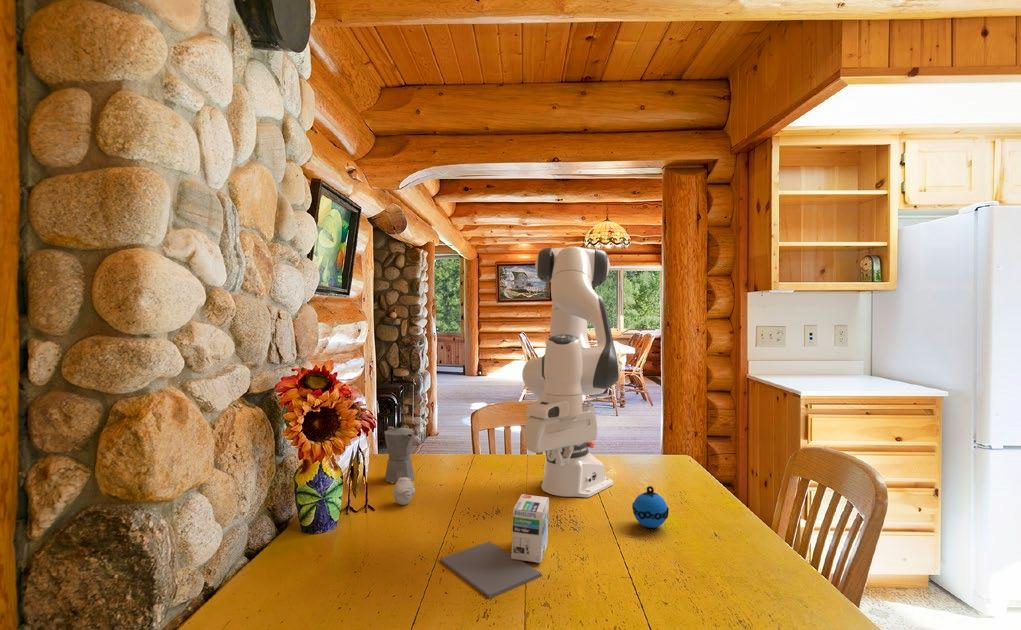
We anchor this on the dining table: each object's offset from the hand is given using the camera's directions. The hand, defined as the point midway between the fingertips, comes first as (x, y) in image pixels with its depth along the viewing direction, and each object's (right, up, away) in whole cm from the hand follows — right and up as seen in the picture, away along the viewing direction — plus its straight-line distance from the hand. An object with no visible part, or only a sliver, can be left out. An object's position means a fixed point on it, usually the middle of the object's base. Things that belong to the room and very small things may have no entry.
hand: (562, 465), depth 122 cm
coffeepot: (-47, -17, +44) cm, 67 cm away
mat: (-16, -18, -12) cm, 27 cm away
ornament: (+22, -18, +8) cm, 30 cm away
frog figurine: (-41, -17, +23) cm, 50 cm away
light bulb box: (-8, -18, -5) cm, 20 cm away
